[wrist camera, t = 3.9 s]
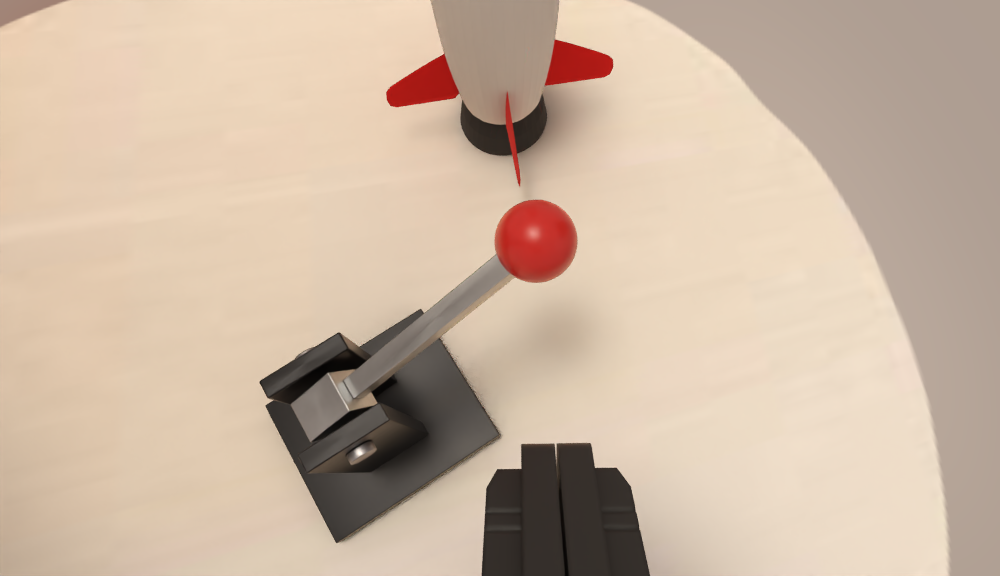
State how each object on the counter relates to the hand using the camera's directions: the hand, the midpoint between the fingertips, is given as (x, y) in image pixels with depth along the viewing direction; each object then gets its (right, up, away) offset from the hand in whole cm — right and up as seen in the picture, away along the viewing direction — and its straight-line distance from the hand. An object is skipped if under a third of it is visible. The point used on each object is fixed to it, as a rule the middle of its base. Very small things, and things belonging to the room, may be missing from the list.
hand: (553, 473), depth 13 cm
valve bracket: (-9, -5, +28) cm, 29 cm away
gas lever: (-4, +2, +17) cm, 17 cm away
